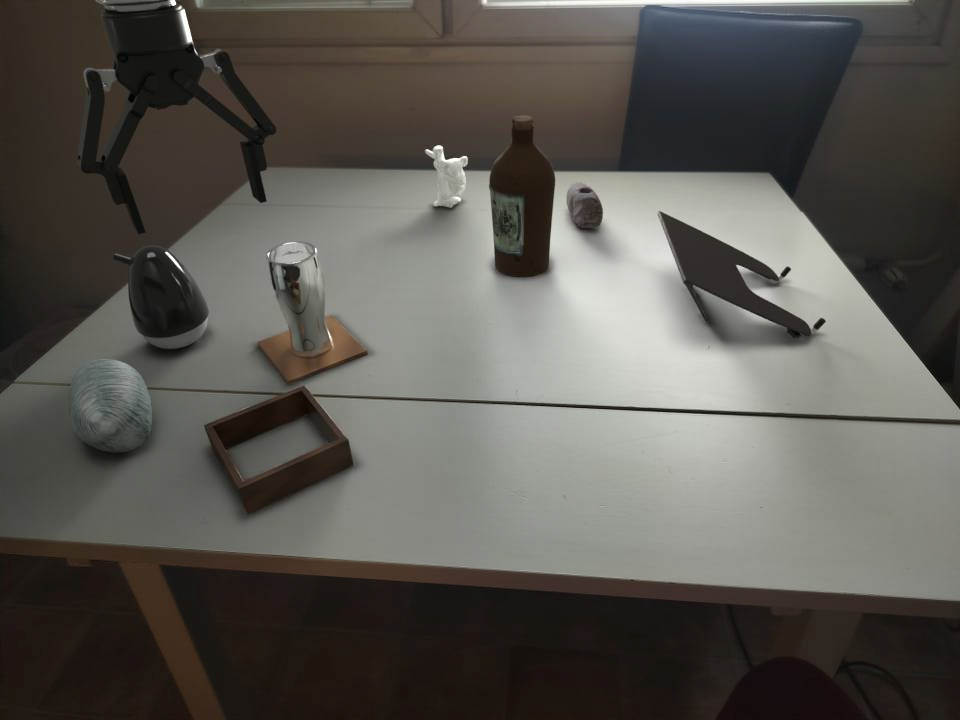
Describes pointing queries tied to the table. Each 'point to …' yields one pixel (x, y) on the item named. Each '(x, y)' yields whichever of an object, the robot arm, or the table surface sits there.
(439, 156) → the white irregular figure
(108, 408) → the grey ovoid lump
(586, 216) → the perforated stone tool
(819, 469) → the table surface
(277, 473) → the frame
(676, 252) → the laptop tray
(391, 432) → the table surface
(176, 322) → the pump dispenser
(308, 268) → the beer glass
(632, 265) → the table surface
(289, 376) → the cork mat
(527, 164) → the olive oil
